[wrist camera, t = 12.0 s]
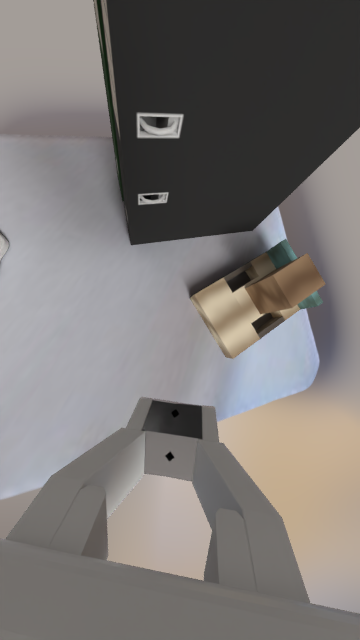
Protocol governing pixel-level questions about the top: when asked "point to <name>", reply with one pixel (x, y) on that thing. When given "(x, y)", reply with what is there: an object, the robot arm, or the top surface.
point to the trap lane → (245, 303)
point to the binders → (224, 106)
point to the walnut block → (285, 286)
